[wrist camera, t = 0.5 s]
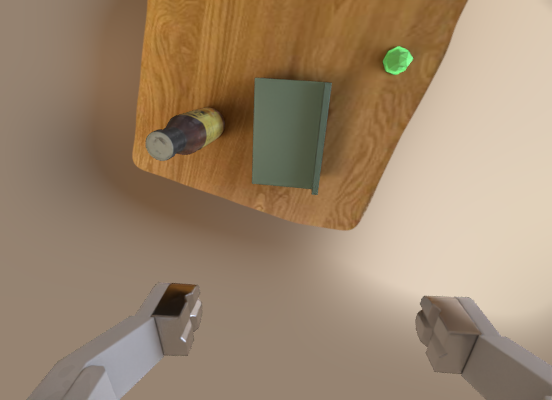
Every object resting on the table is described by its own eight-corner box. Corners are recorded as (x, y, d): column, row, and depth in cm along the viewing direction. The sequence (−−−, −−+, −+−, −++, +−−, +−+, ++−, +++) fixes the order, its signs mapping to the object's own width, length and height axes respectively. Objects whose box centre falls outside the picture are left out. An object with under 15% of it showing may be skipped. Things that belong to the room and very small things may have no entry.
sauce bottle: (218, 101, 53) (171, 113, 35) (231, 133, 56) (193, 159, 37) (188, 113, 55) (129, 130, 37) (202, 143, 57) (152, 173, 39)
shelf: (261, 77, 51) (251, 77, 42) (327, 82, 50) (331, 82, 41) (258, 172, 58) (249, 188, 49) (316, 177, 57) (317, 195, 49)
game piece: (414, 60, 47) (428, 57, 42) (393, 80, 49) (404, 80, 43) (397, 40, 47) (409, 35, 41) (377, 62, 48) (386, 59, 43)
